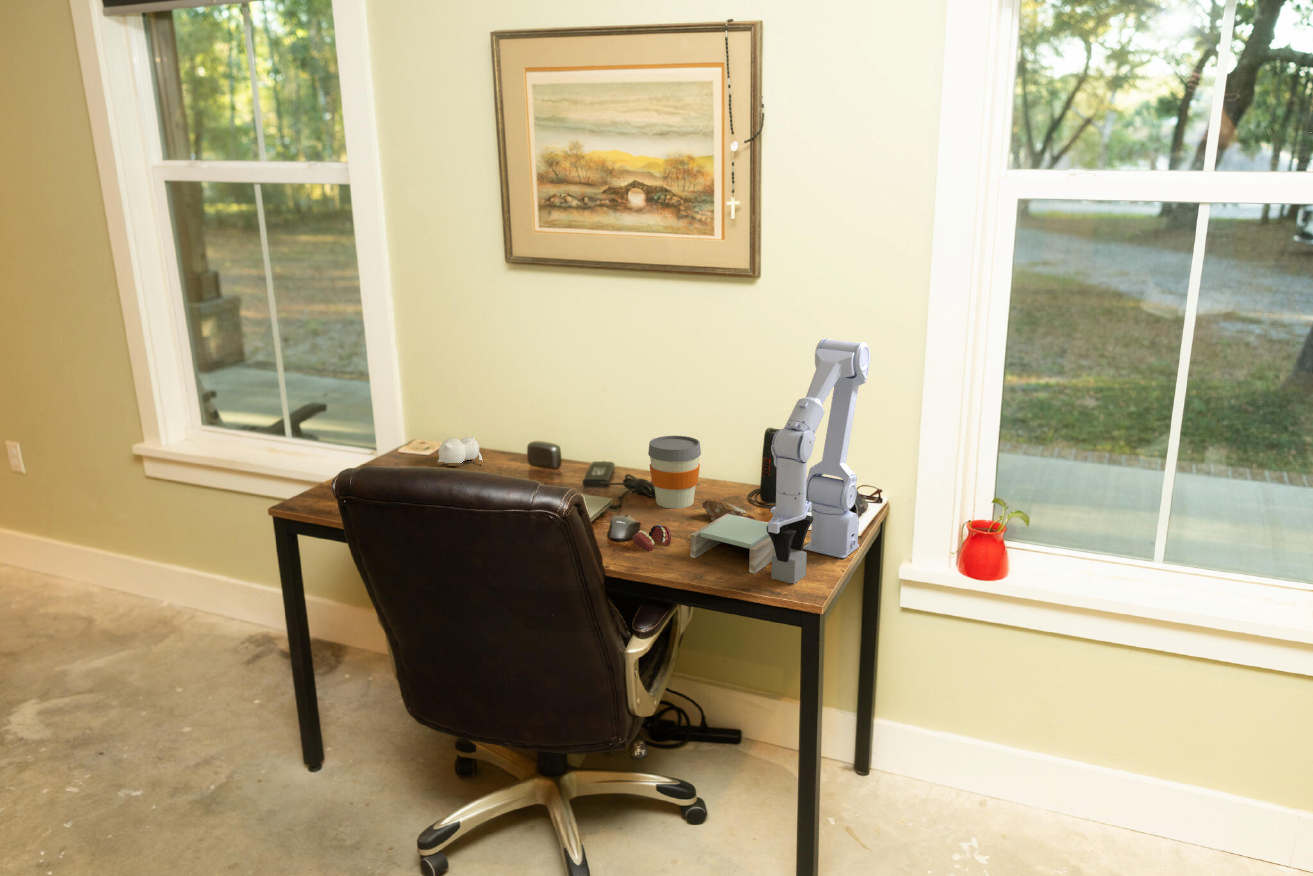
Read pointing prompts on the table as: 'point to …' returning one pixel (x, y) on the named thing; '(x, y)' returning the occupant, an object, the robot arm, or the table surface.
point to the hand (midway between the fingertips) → (789, 555)
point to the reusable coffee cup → (674, 469)
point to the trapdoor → (737, 531)
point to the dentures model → (652, 537)
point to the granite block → (790, 567)
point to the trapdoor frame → (699, 545)
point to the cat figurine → (459, 450)
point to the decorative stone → (723, 509)
